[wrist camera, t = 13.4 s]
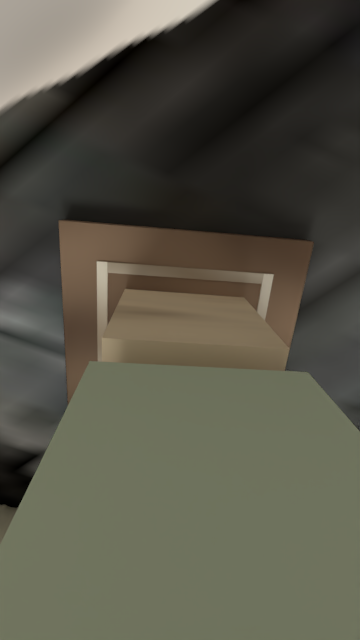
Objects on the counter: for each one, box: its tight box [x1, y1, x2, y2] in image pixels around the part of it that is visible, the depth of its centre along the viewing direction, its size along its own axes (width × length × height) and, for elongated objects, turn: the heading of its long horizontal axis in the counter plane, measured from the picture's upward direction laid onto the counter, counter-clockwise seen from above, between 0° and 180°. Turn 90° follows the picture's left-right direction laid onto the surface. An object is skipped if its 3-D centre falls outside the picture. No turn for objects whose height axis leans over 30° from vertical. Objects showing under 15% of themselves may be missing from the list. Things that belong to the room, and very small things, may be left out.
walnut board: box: [59, 220, 314, 404], centre depth 17 cm, size 12×12×1 cm
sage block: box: [0, 361, 360, 640], centre depth 7 cm, size 6×6×6 cm
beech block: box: [102, 289, 290, 371], centre depth 14 cm, size 6×6×6 cm
